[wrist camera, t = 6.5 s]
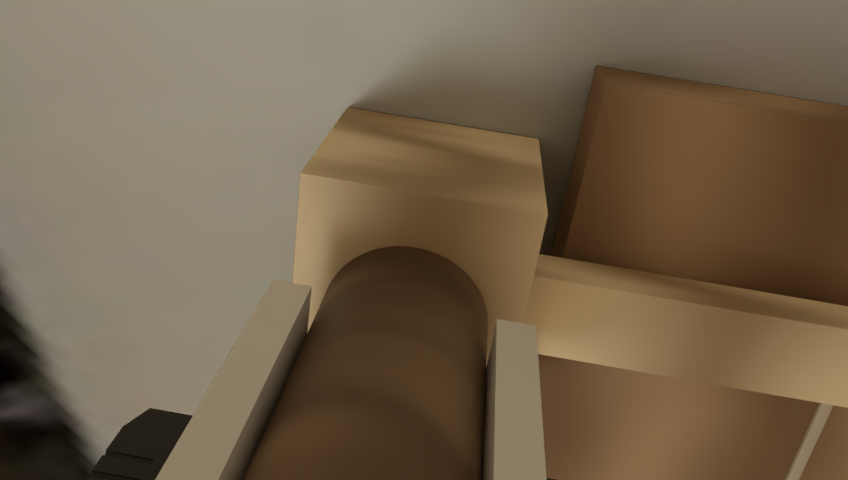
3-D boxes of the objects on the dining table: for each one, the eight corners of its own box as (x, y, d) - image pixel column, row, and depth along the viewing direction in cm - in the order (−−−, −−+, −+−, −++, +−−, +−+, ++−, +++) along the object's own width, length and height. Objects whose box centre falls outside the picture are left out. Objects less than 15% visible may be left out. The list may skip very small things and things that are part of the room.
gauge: (328, 305, 22) (1, 1073, 8) (347, 107, 20) (-86, 711, 5) (840, 394, 22) (1485, 1378, 7) (928, 203, 19) (2180, 1147, 5)
